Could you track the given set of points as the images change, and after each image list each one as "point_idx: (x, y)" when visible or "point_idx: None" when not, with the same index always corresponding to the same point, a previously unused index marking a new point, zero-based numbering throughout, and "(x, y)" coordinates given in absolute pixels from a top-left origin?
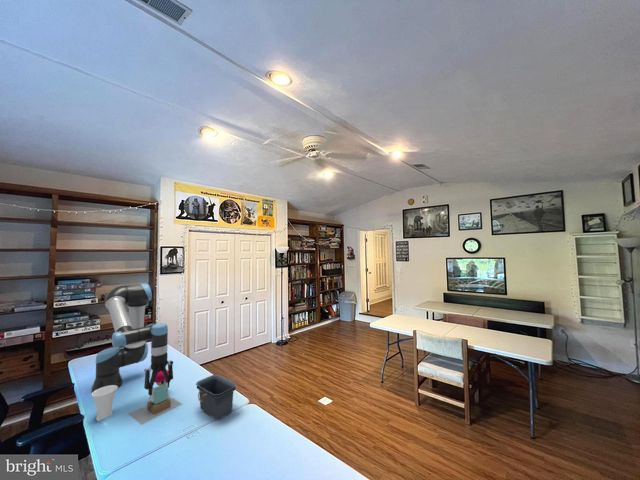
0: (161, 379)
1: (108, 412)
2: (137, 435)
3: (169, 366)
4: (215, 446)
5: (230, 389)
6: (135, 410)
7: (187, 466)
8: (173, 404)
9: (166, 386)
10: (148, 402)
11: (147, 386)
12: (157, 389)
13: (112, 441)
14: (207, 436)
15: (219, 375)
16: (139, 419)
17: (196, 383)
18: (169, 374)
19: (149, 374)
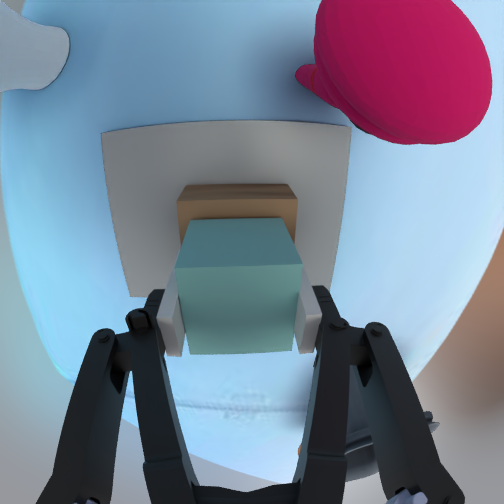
0: (370, 128)
1: (29, 83)
2: (116, 325)
3: (389, 483)
4: (247, 446)
5: (353, 477)
6: (138, 130)
7: (189, 445)
8: (305, 259)
9: (295, 331)
10: (179, 215)
11: (113, 384)
12: (219, 321)
13: (51, 286)
14: (256, 431)
15: (431, 432)
16: (130, 250)
17: (352, 450)
18: (371, 383)
19: (106, 494)
